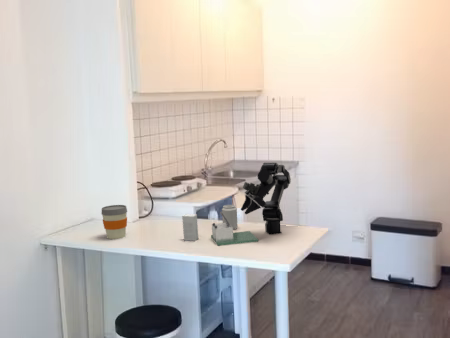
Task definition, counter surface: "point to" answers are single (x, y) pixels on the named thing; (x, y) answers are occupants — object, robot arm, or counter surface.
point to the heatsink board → (239, 238)
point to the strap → (224, 218)
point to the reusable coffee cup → (115, 221)
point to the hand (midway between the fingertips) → (243, 212)
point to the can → (230, 215)
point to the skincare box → (190, 227)
